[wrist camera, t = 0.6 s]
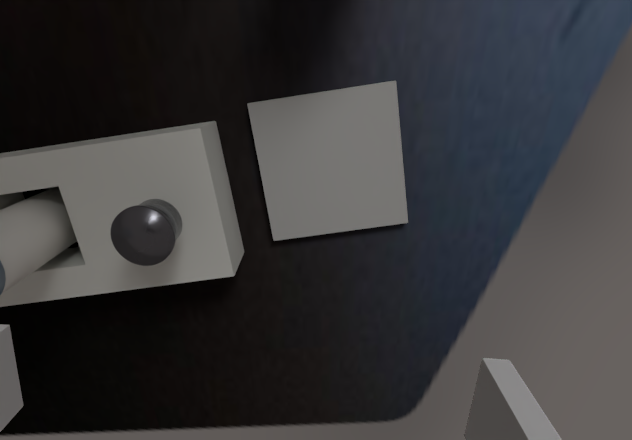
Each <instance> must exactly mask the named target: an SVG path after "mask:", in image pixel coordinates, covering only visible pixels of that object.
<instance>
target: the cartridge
mask: <svg viewBox="0 0 632 440" xmlns="http://www.w3.org/2000/svg"><path fill="white" fill-rule="evenodd" d="M75 242H77V239H76V236H75V233H74V230H73V227H72V224H71V221H70V218H69V215H68V213H67V210H66V207H65V204H64V201H63V198H62V195H61V192H60V189H59V187H58V186H57V187H53V188H50V189H48V190H46V191H43V192H41V193H39V194H36V195H34V196H32V197H30V198H27V199H25V200H23V201H20V202H18V203H16V204H13V205H11V206H9V207H6V208H4V209H2V210H0V295H1V294H2V293H4V292H5V291H6V290H8V289H9V288H11V287H12V286H14V285H15V284H16V283H18V282H19V281H21V280H22V279H24V278H25V277H27V276H28V275H29V274H31V273H32V272H34V271H35V270H37V269H38V268H39V267H41V266H42V265H44V264H45V263H47V262H48V261H49V260H51V259H52V258H54V257H55V256H57V255H58V254H60V253H61V252H62V251H64V250H65V249H67V248H68V247H70V246H71V245H72V244H74V243H75Z"/></svg>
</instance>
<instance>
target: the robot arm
mask: <svg viewBox="0 0 632 440" xmlns="http://www.w3.org/2000/svg"><path fill="white" fill-rule="evenodd" d="M22 407H23V400H22V395H21V389H20V383H19V377H18V371H17V366H16V360H15V354H14V348H13V343H12V337H11V331H10V325H3V324H0V432H1V431H2V429H3V428H4V427H5V426H6V425H7V424H8V423H9V422H10V420H11V419H12V418H13V417H14V416H15V415H16V414H17V413H18V411H19V410H20V409H21V408H22ZM464 436H465V439H466V440H561V438H560V436H559V435H558V433H557V432H556V430H555V429H554V427H553V426H552V424H551V423H550V421H549V419H548V418H547V416H546V415H545V413H544V412H543V410H542V409H541V408H540V406H539V404H538V403H537V401H536V400H535V398H534V397H533V395H532V394H531V392H530V390H529V389H528V388H527V386H526V384H525V383H524V381H523V380H522V378H521V377H520V376H519V374H518V372H517V371H516V369H515V368H514V366H513V365H512V363H511V362H510V360H503V359H488V358H482V362H481V366H480V370H479V374H478V379H477V383H476V387H475V392H474V396H473V400H472V404H471V409H470V413H469V417H468V421H467V426H466V430H465V434H464Z"/></svg>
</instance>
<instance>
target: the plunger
mask: <svg viewBox="0 0 632 440" xmlns="http://www.w3.org/2000/svg"><path fill="white" fill-rule="evenodd" d="M181 231H182V219H181V216H180V214H179V212H178V211H177V209H176V208H175V207H174V206H173V205H171V204H170V203H168V202H166V201H164V200H160V199H149V200H146V201H144V202H142V203H141V204H139V205H135V206H131V207H128V208H126V209H124V210H123V211H122V212H120V213H119V214H118V215H117V216H116V217H115V219H114V220H113V222H112V225H111V233H110V234H111V240H112V243H113V245H114V247H115V249H116V250H117V252H118V253H119V254H120V255H121V256H122V257H123V258H125V259H126V260H128V261H129V262H131V263H134V264H137V265H142V266H151V265H155V264H158V263H160V262H162V261H164V260H165V259H166V258H167V257H168V256H169V255H170V253H171V252H172V251H173V249H174V246H175V242H176V240H177V238H178V237H179V236H180V234H181Z"/></svg>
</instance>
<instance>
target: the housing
mask: <svg viewBox="0 0 632 440" xmlns="http://www.w3.org/2000/svg"><path fill="white" fill-rule="evenodd" d="M57 186H58V187H59V189H60V192H61V195H62V198H63V201H64V204H65V207H66V210H67V213H68V215H69V218H70V221H71V224H72V227H73V230H74V233H75V236H76V239H77V241H78V244H79V247H74V248H67V249H65V250H64V251H62V252H61V253H60V254H58V255H57V256H55V257H54V258H52V259H51V260H49V261H48V262H47V263H45V264H44V265H42V266H41V267H39V268H38V269H37V270H35V271H34V272H32V273H31V274H29V275H28V276H27V277H25V278H24V279H22V280H21V281H19V282H18V283H16V284H15V285H14V286H12V287H11V288H9V289H8V290H6V291H5V292H4V293H2V294H1V295H0V307H3V306H11V305H19V304H26V303H34V302H41V301H49V300H57V299H64V298H72V297H80V296H87V295H95V294H102V293H110V292H118V291H125V290H133V289H141V288H148V287H156V286H163V285H171V284H179V283H186V282H194V281H201V280H209V279H217V278H224V277H232V276H234V275H235V273H236V271H237V268H238V266H239V264H240V261H241V259H242V256H243V254H244V248H243V244H242V239H241V235H240V230H239V225H238V221H237V216H236V212H235V207H234V202H233V198H232V193H231V189H230V184H229V179H228V175H227V170H226V166H225V161H224V156H223V152H222V147H221V142H220V138H219V133H218V129H217V124H216V121H210V122H204V123H197V124H191V125H184V126H178V127H171V128H164V129H158V130H151V131H145V132H138V133H131V134H125V135H118V136H112V137H105V138H99V139H92V140H85V141H79V142H72V143H66V144H59V145H52V146H46V147H39V148H33V149H26V150H20V151H13V152H6V153H0V210H2V209H4V208H6V207H9V206H11V205H13V204H16V203H18V202H20V201H23V200H25V198H24V195H23V193H22V192H23V191H30V190H37V189H44V188H50V187H57ZM149 199H160V200H164V201H166V202H168V203H170V204H171V205H173V206H174V207H175V208H176V209H177V211H178V212H179V214H180V216H181V219H182V231H181V234H180V236H179V237H178V238H177V240H176V242H175V246H174V249H173V251H172V252H171V253H170V255H169V256H168V257H167V258H166V259H165V260H164V261H162V262H160V263H158V264H155V265H151V266H142V265H137V264H134V263H131V262H129V261H128V260H126V259H125V258H123V257H122V256H121V255H120V254H119V253H118V252H117V250H116V249H115V247H114V245H113V243H112V240H111V234H110V233H111V225H112V222H113V220H114V219H115V217H116V216H117V215H118V214H119V213H120V212H122V211H123V210H124V209H126V208H128V207H131V206H135V205H139V204H141V203H142V202H144V201H146V200H149Z"/></svg>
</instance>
